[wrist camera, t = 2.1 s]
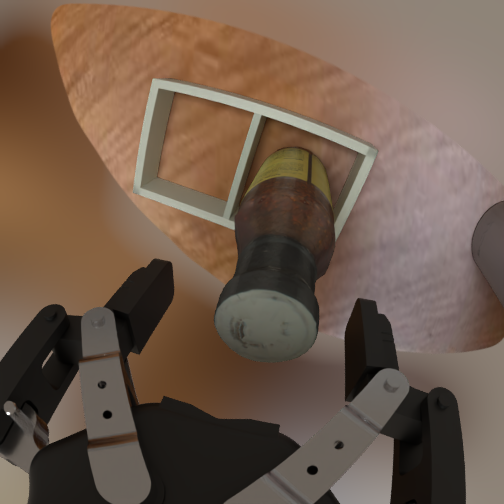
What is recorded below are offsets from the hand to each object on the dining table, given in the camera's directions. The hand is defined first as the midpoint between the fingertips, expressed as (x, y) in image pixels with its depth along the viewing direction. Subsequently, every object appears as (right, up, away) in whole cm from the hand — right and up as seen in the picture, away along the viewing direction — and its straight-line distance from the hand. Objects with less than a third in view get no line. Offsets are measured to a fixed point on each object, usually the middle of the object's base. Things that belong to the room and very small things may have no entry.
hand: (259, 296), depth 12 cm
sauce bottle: (+4, +9, +15) cm, 18 cm away
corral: (-1, +11, +15) cm, 19 cm away
